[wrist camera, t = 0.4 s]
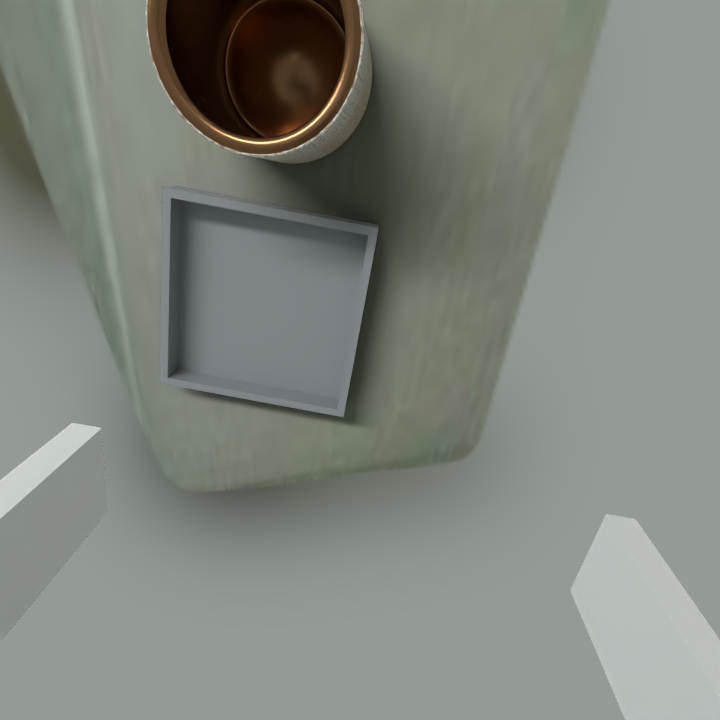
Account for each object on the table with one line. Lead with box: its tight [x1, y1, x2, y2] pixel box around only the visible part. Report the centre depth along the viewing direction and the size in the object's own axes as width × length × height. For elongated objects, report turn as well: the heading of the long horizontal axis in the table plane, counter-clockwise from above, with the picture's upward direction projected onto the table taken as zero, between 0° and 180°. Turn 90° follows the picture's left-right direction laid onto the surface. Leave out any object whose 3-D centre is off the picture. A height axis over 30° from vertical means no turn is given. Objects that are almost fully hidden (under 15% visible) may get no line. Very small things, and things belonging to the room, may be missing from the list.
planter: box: [146, 0, 372, 164], centre depth 27 cm, size 11×11×10 cm
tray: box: [160, 186, 379, 417], centre depth 36 cm, size 15×15×2 cm
